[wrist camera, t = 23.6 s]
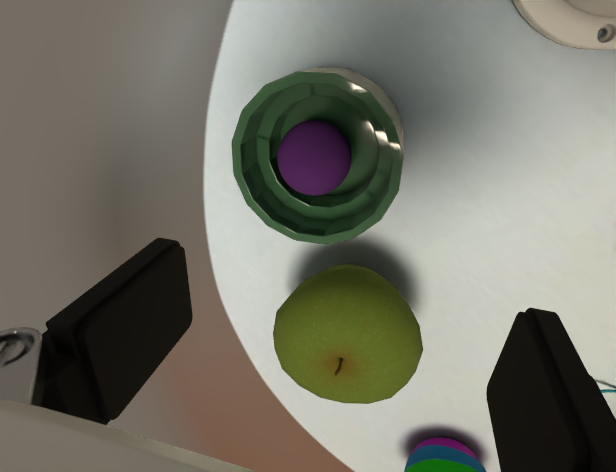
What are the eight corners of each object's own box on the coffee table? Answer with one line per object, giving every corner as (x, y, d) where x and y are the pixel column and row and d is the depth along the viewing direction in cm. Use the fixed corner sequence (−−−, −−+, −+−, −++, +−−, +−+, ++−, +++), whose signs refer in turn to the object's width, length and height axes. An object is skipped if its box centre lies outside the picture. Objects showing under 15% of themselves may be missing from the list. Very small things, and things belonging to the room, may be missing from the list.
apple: (290, 321, 36) (253, 407, 27) (303, 225, 31) (262, 293, 22) (402, 351, 34) (400, 452, 26) (434, 254, 29) (446, 340, 21)
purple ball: (301, 106, 27) (258, 127, 23) (365, 116, 24) (329, 141, 21) (303, 170, 29) (265, 197, 26) (361, 184, 27) (328, 216, 24)
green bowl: (262, 64, 26) (226, 68, 21) (413, 70, 24) (415, 76, 19) (265, 201, 31) (237, 232, 26) (392, 216, 29) (389, 253, 24)
